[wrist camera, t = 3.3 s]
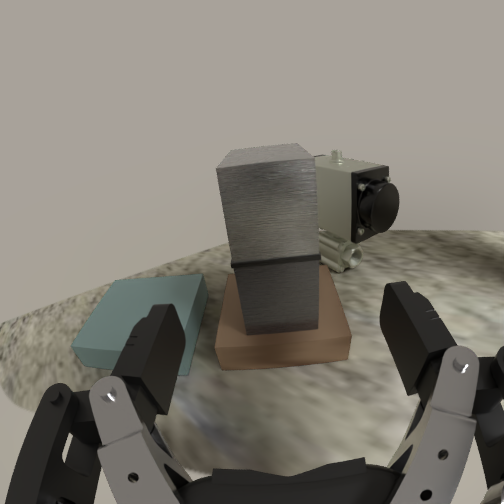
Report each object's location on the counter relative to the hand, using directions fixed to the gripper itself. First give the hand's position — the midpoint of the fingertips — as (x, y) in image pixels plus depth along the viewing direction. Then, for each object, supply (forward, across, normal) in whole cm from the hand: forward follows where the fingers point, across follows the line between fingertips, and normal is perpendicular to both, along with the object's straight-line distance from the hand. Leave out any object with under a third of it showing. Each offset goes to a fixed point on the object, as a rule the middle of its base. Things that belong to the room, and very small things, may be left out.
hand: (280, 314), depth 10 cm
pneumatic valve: (+18, -7, +9) cm, 21 cm away
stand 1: (+9, +12, +9) cm, 17 cm away
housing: (+9, 0, +6) cm, 11 cm away
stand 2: (+9, 0, +9) cm, 13 cm away
